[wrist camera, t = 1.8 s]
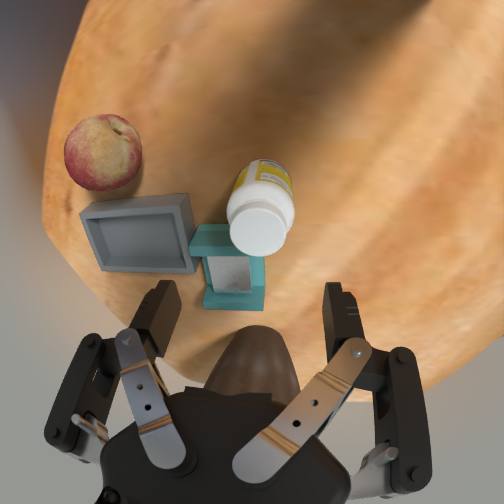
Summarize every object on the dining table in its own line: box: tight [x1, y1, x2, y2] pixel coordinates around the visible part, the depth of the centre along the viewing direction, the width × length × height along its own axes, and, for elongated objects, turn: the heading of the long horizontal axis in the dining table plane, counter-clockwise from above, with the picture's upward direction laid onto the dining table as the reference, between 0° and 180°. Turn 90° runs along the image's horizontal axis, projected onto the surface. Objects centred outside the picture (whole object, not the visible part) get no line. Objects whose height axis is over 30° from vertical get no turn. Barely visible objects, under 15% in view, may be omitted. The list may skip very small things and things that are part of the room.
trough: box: [79, 193, 201, 274], centre depth 30 cm, size 9×14×3 cm, turn 94°
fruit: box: [64, 114, 142, 191], centre depth 22 cm, size 8×8×8 cm
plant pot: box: [204, 325, 301, 405], centre depth 35 cm, size 15×15×16 cm
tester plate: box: [207, 256, 253, 294], centre depth 30 cm, size 6×4×1 cm
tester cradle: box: [189, 223, 266, 311], centre depth 31 cm, size 9×7×4 cm
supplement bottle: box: [227, 159, 295, 257], centre depth 23 cm, size 5×5×10 cm
